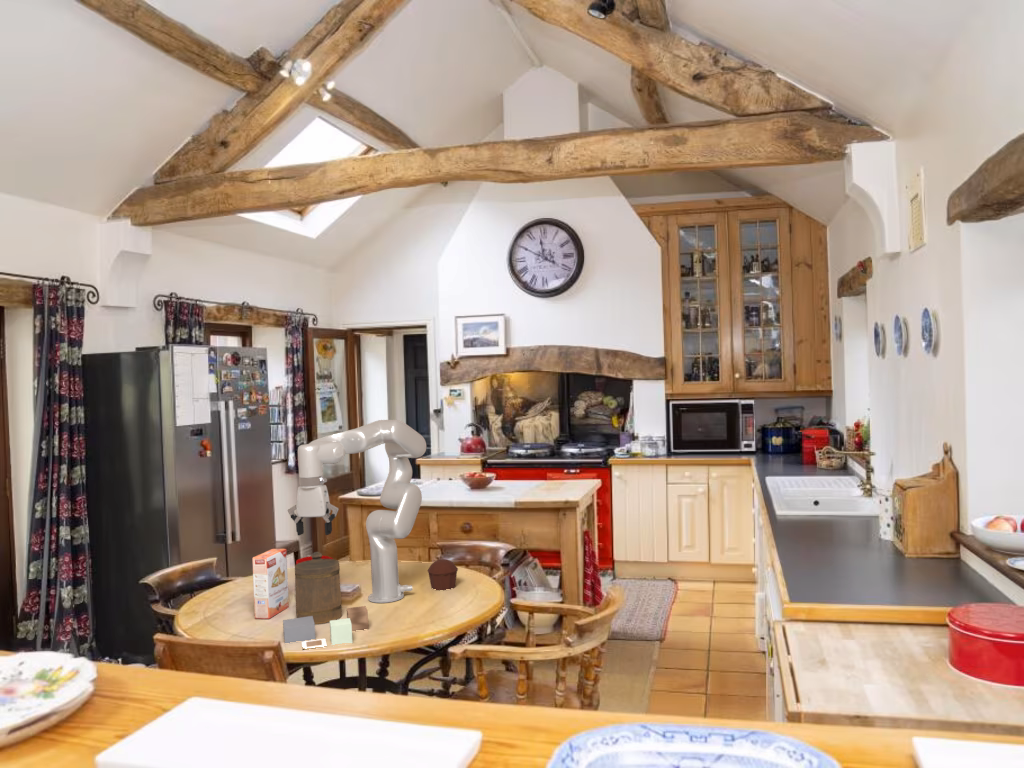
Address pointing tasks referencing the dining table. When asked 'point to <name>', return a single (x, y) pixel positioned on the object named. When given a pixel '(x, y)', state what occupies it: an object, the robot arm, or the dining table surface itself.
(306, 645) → the tile
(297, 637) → the base block
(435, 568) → the muffin
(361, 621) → the walnut cube
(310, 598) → the wooden container
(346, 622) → the sage cube
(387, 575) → the robot arm
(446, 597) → the dining table surface
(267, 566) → the cracker box
